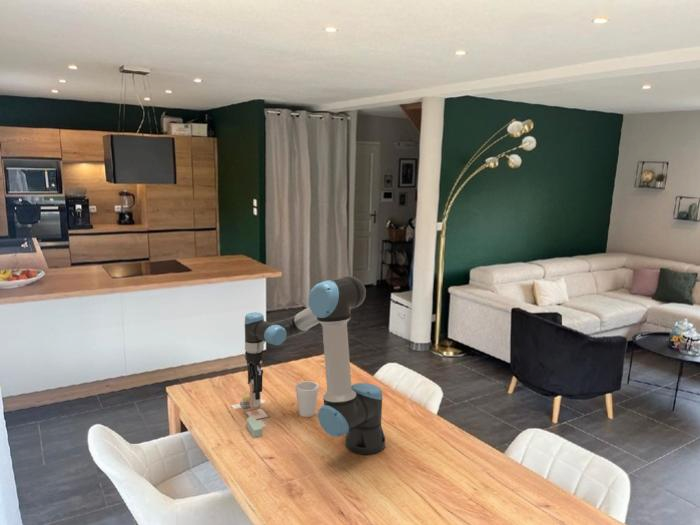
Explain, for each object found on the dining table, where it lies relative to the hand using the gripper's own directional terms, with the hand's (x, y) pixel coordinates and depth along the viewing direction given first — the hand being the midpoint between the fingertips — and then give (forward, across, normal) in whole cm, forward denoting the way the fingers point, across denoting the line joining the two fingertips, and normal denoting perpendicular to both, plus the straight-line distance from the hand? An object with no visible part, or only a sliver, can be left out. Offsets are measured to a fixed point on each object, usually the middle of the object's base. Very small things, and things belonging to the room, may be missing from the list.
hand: (255, 403), depth 216 cm
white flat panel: (+5, -3, 0) cm, 6 cm away
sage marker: (+4, -15, +6) cm, 16 cm away
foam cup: (+5, -10, -19) cm, 22 cm away
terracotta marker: (+2, 0, 0) cm, 2 cm away
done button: (+1, +8, +1) cm, 8 cm away
